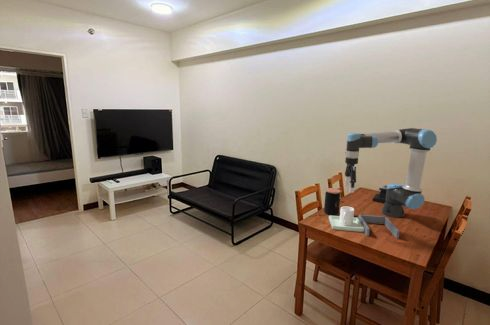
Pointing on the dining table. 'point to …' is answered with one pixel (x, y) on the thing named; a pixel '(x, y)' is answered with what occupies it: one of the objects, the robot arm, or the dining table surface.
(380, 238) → the dining table surface
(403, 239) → the dining table surface
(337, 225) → the tray
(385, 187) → the camera
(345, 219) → the mug
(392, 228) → the bay
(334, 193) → the coffee jar
